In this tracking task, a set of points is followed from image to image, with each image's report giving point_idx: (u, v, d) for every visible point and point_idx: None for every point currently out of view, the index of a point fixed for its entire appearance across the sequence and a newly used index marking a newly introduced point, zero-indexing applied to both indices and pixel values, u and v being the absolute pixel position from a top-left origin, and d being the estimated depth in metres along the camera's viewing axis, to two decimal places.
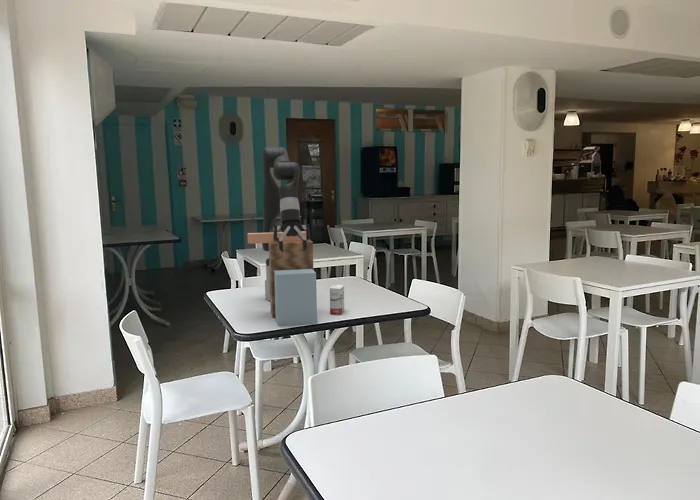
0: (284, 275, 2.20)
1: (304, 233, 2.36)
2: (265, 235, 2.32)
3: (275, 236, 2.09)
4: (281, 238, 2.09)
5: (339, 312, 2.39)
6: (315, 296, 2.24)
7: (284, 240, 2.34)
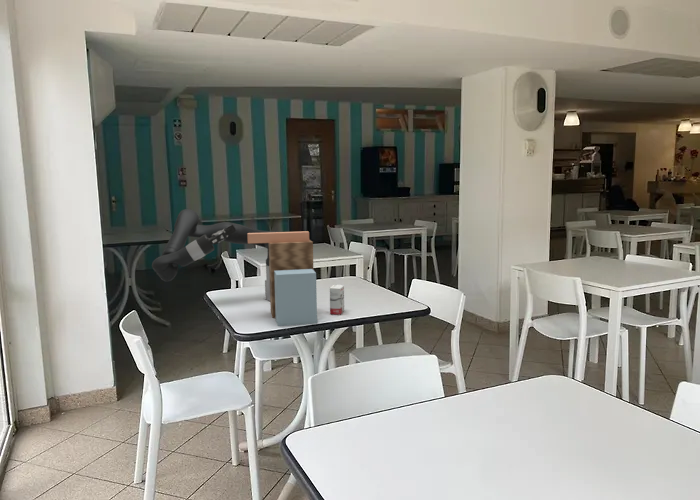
0: (284, 275, 2.20)
1: (304, 233, 2.35)
2: (265, 235, 2.32)
3: None
4: None
5: (339, 312, 2.39)
6: (315, 296, 2.24)
7: (284, 240, 2.34)
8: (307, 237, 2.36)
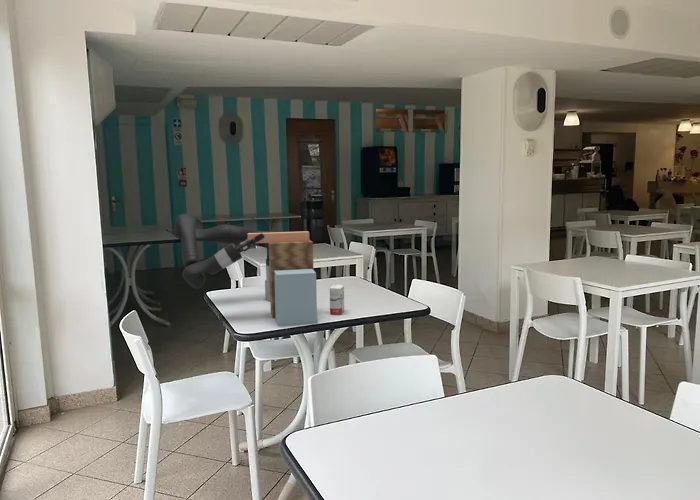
0: (284, 275, 2.20)
1: (304, 233, 2.36)
2: (265, 235, 2.32)
3: None
4: None
5: (339, 312, 2.39)
6: (315, 296, 2.24)
7: (284, 240, 2.34)
8: (307, 237, 2.36)
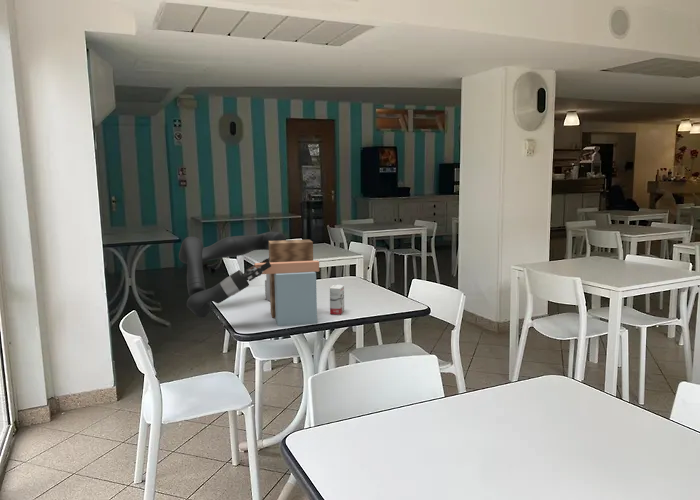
0: (284, 275, 2.20)
1: (314, 263, 2.25)
2: (273, 265, 2.21)
3: None
4: None
5: (339, 312, 2.39)
6: (315, 296, 2.24)
7: (293, 270, 2.23)
8: (317, 267, 2.25)
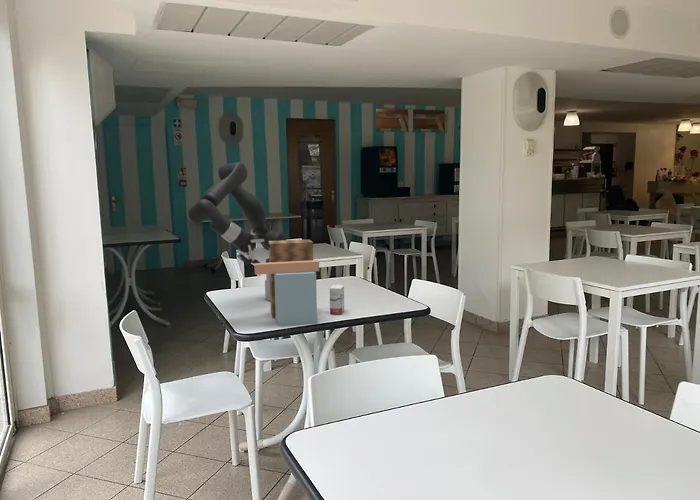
0: (284, 275, 2.20)
1: (314, 263, 2.25)
2: (273, 265, 2.21)
3: None
4: None
5: (339, 312, 2.39)
6: (315, 296, 2.24)
7: (293, 270, 2.23)
8: (317, 267, 2.25)
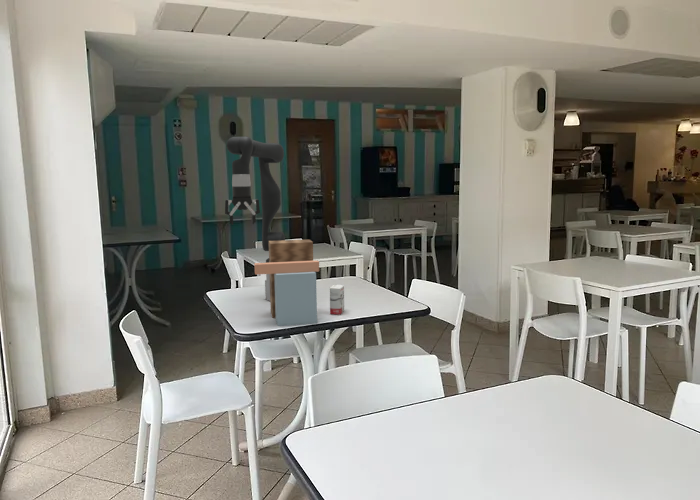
0: (284, 275, 2.20)
1: (314, 263, 2.25)
2: (273, 265, 2.21)
3: None
4: None
5: (339, 312, 2.39)
6: (315, 296, 2.24)
7: (293, 270, 2.23)
8: (317, 267, 2.25)
